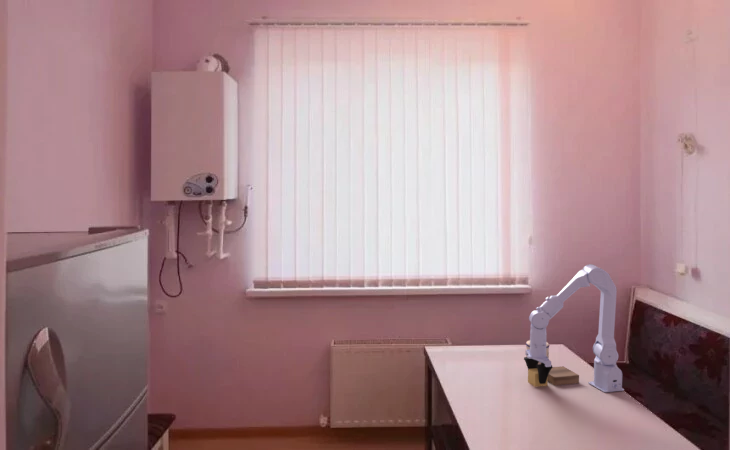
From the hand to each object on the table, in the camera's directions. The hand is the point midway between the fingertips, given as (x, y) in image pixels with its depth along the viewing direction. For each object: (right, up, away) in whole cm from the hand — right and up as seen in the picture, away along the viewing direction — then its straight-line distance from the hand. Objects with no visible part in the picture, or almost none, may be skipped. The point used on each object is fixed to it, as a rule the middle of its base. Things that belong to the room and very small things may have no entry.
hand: (537, 380), depth 196 cm
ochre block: (0, -2, 0) cm, 2 cm away
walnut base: (+9, -1, +4) cm, 10 cm away
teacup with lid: (+6, 0, +22) cm, 23 cm away
